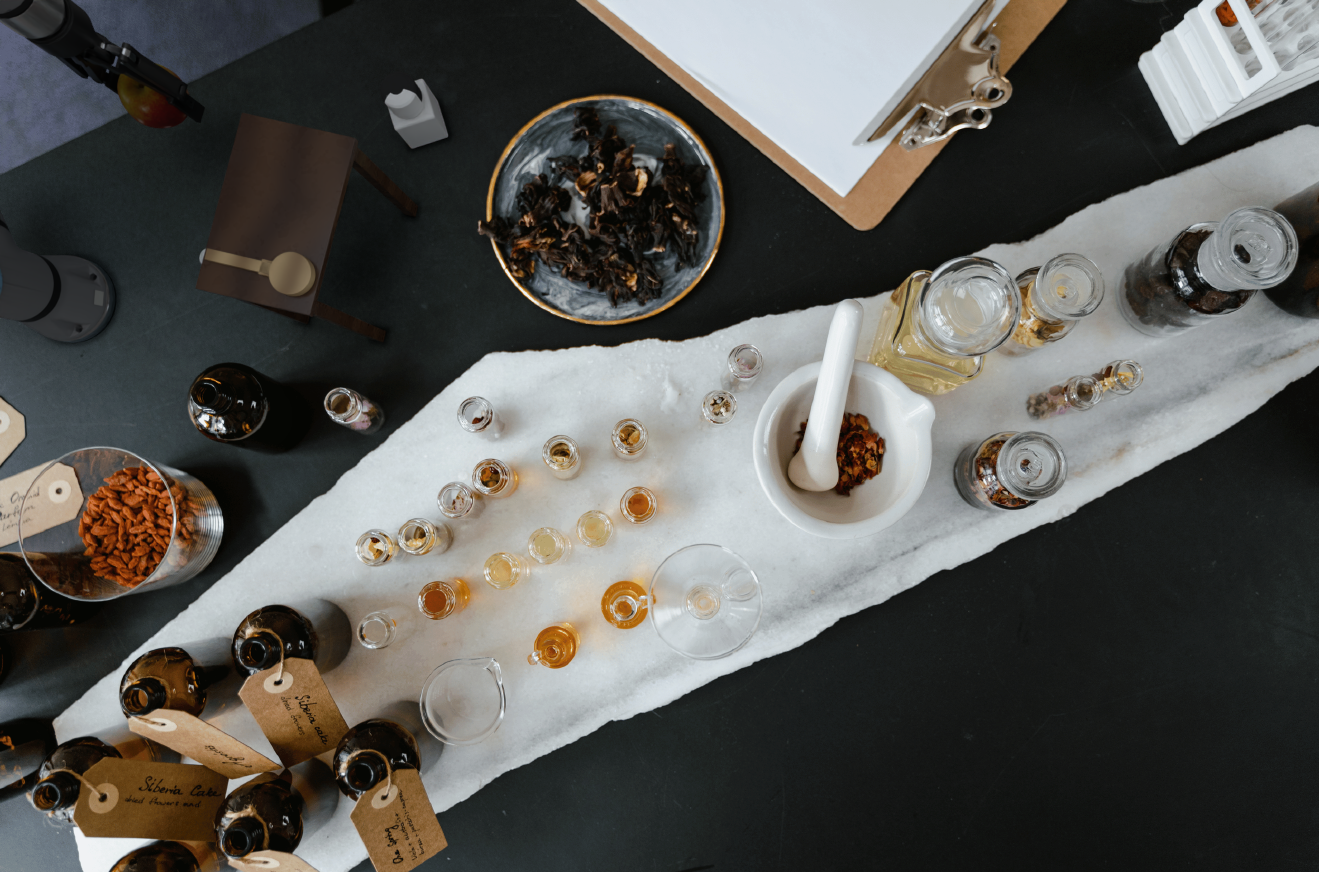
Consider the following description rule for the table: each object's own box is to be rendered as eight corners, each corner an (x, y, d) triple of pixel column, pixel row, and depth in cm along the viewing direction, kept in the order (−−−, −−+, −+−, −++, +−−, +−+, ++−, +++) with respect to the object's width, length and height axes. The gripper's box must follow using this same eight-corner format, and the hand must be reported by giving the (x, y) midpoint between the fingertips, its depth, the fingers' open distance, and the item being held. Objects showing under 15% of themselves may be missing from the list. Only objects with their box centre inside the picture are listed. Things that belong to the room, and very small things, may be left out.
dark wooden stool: (293, 323, 118) (194, 288, 94) (330, 183, 118) (241, 112, 94) (385, 345, 117) (309, 315, 93) (421, 204, 118) (355, 137, 94)
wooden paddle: (205, 276, 94) (199, 273, 92) (216, 235, 94) (210, 232, 93) (309, 300, 93) (304, 298, 92) (320, 259, 93) (315, 256, 92)
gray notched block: (400, 112, 119) (368, 73, 107) (438, 100, 118) (410, 59, 106) (411, 149, 118) (381, 114, 106) (449, 137, 118) (423, 100, 106)
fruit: (179, 147, 108) (140, 122, 100) (133, 119, 108) (91, 91, 100) (212, 98, 108) (175, 68, 100) (166, 70, 108) (126, 38, 100)
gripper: (128, 3, 85) (242, 100, 107) (-32, -33, 86) (114, 71, 108) (113, 59, 85) (230, 144, 107) (-48, 22, 85) (101, 115, 108)
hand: (171, 108), depth 108 cm, fingers closed on fruit, 9 cm apart
